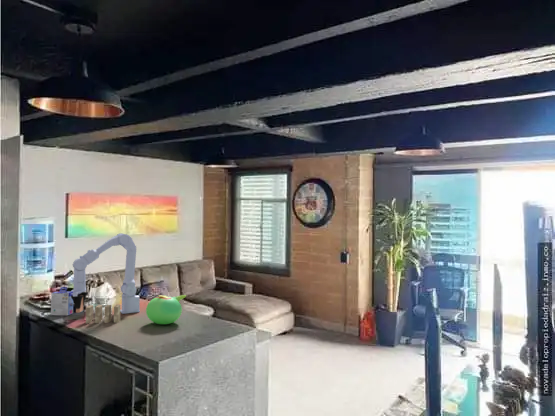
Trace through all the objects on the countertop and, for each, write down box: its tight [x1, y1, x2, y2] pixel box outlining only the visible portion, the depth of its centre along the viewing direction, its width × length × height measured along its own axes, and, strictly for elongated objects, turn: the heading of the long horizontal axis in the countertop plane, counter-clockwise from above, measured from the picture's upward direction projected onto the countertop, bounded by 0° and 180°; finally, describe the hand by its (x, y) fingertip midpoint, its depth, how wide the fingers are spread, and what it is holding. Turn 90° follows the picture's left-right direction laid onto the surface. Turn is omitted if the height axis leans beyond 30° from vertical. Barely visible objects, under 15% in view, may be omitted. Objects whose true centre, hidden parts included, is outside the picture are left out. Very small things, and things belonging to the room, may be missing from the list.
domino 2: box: [85, 304, 94, 324], centre depth 212 cm, size 2×5×8 cm, turn 7°
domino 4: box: [104, 304, 112, 324], centre depth 213 cm, size 2×5×8 cm, turn 7°
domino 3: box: [94, 304, 103, 324], centre depth 213 cm, size 2×5×8 cm, turn 7°
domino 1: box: [75, 298, 84, 313], centre depth 219 cm, size 2×5×8 cm, turn 7°
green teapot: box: [145, 294, 187, 325], centre depth 210 cm, size 18×17×15 cm
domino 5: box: [113, 304, 121, 324], centre depth 214 cm, size 2×5×8 cm, turn 7°
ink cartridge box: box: [50, 286, 74, 316], centre depth 227 cm, size 10×6×14 cm, turn 89°
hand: (79, 307), depth 219 cm, fingers closed on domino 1, 5 cm apart
